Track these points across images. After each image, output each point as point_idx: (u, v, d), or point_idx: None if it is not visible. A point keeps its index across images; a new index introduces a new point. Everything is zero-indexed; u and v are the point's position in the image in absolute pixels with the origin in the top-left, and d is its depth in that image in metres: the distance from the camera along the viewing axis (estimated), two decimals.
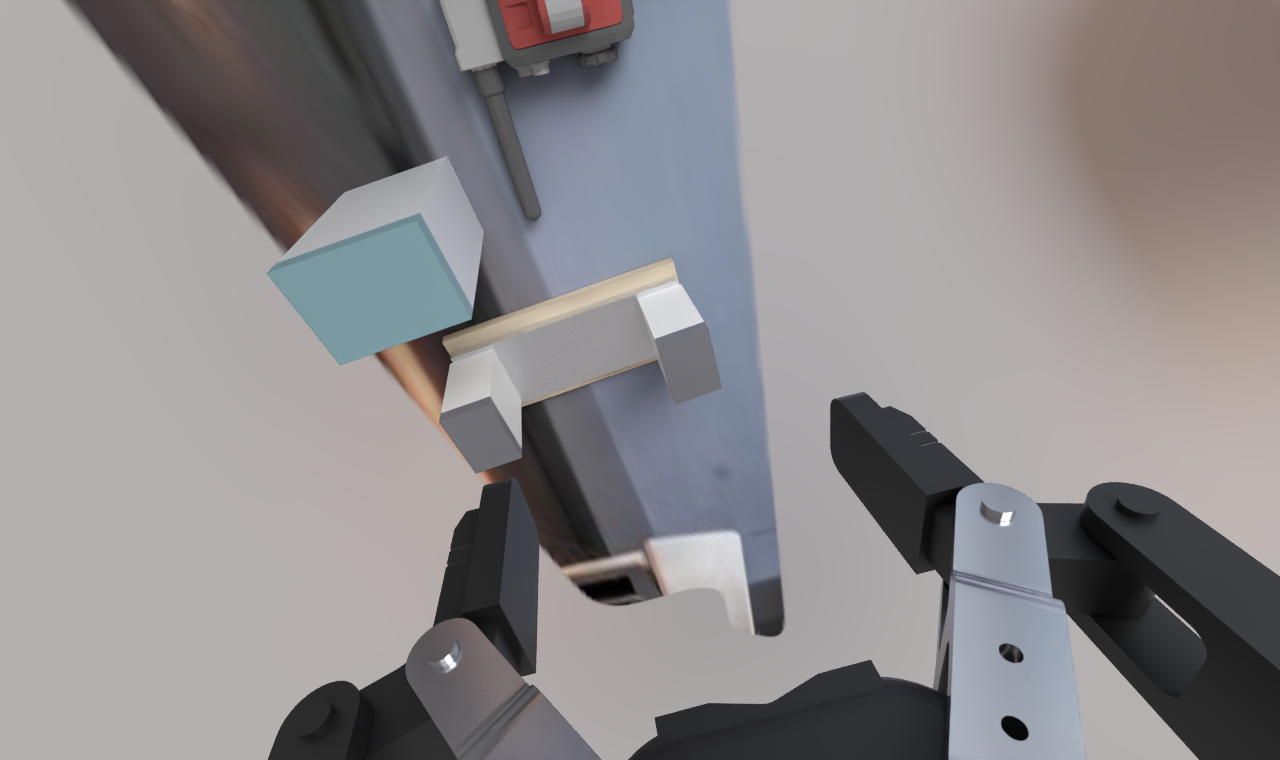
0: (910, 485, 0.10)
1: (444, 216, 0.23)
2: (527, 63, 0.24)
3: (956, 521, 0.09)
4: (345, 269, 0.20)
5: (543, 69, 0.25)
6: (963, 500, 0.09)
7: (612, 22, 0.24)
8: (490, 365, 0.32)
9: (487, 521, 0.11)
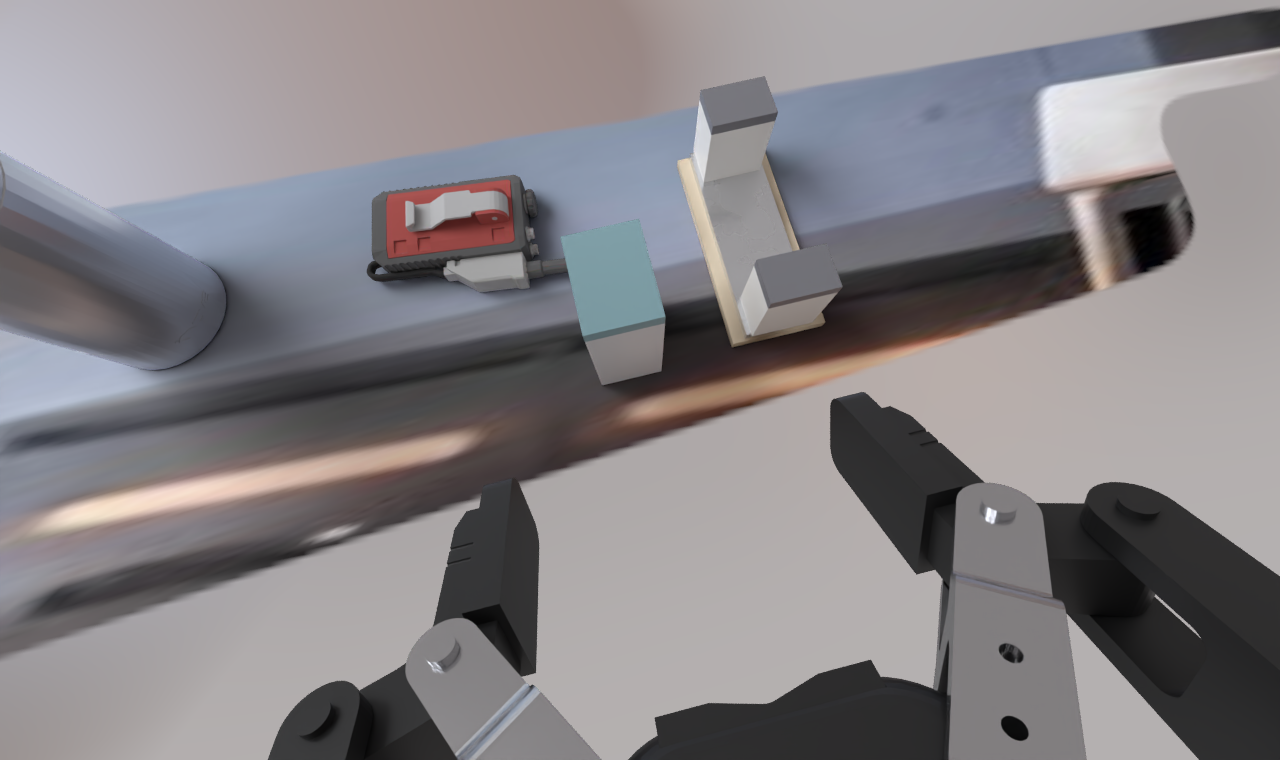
0: (910, 485, 0.10)
1: None
2: (522, 234, 0.38)
3: (956, 521, 0.09)
4: (587, 287, 0.28)
5: (529, 229, 0.39)
6: (963, 500, 0.09)
7: (509, 184, 0.39)
8: (745, 289, 0.36)
9: (487, 521, 0.11)
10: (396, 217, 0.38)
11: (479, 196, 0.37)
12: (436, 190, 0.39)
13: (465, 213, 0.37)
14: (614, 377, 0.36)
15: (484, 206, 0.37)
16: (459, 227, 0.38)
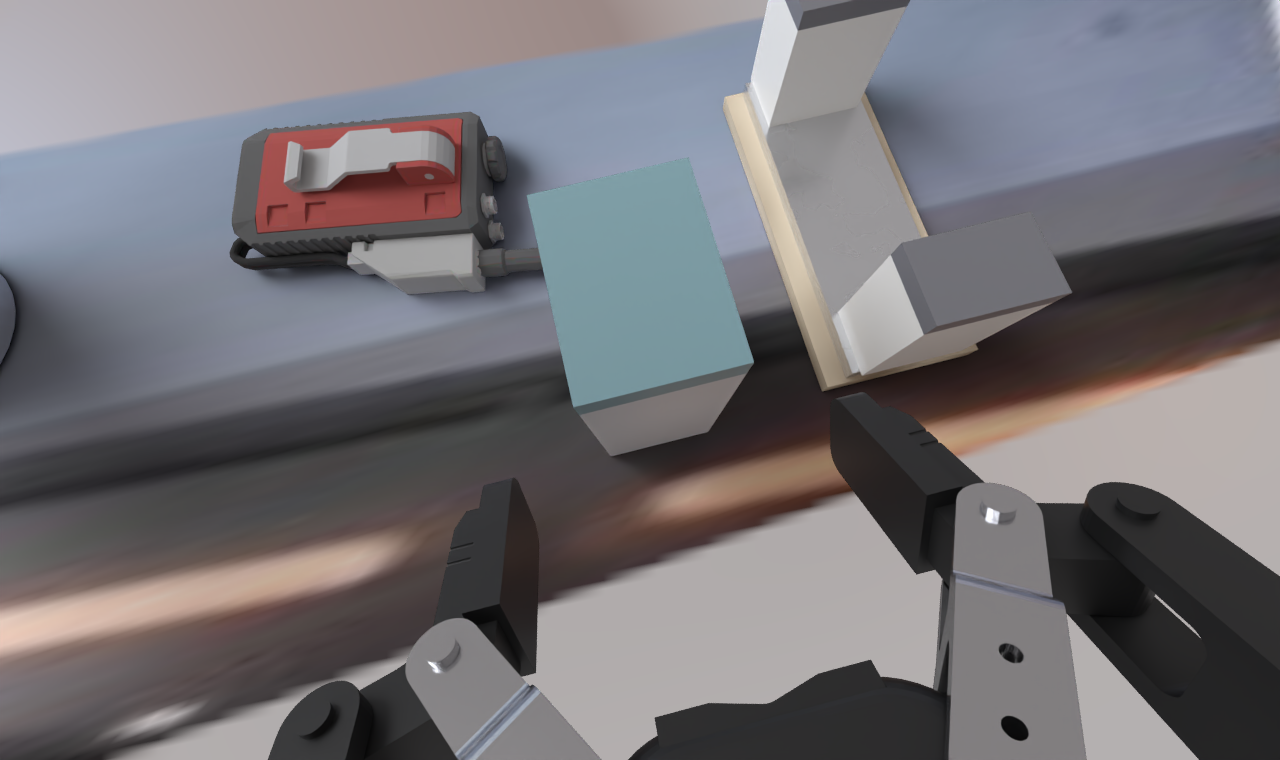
0: (910, 485, 0.10)
1: None
2: (474, 204, 0.23)
3: (956, 521, 0.09)
4: (582, 300, 0.13)
5: (488, 198, 0.24)
6: (963, 500, 0.09)
7: (459, 124, 0.24)
8: (855, 296, 0.21)
9: (487, 521, 0.11)
10: (277, 168, 0.24)
11: (405, 138, 0.23)
12: (345, 129, 0.25)
13: (379, 165, 0.22)
14: (632, 446, 0.22)
15: (411, 155, 0.23)
16: (374, 188, 0.24)
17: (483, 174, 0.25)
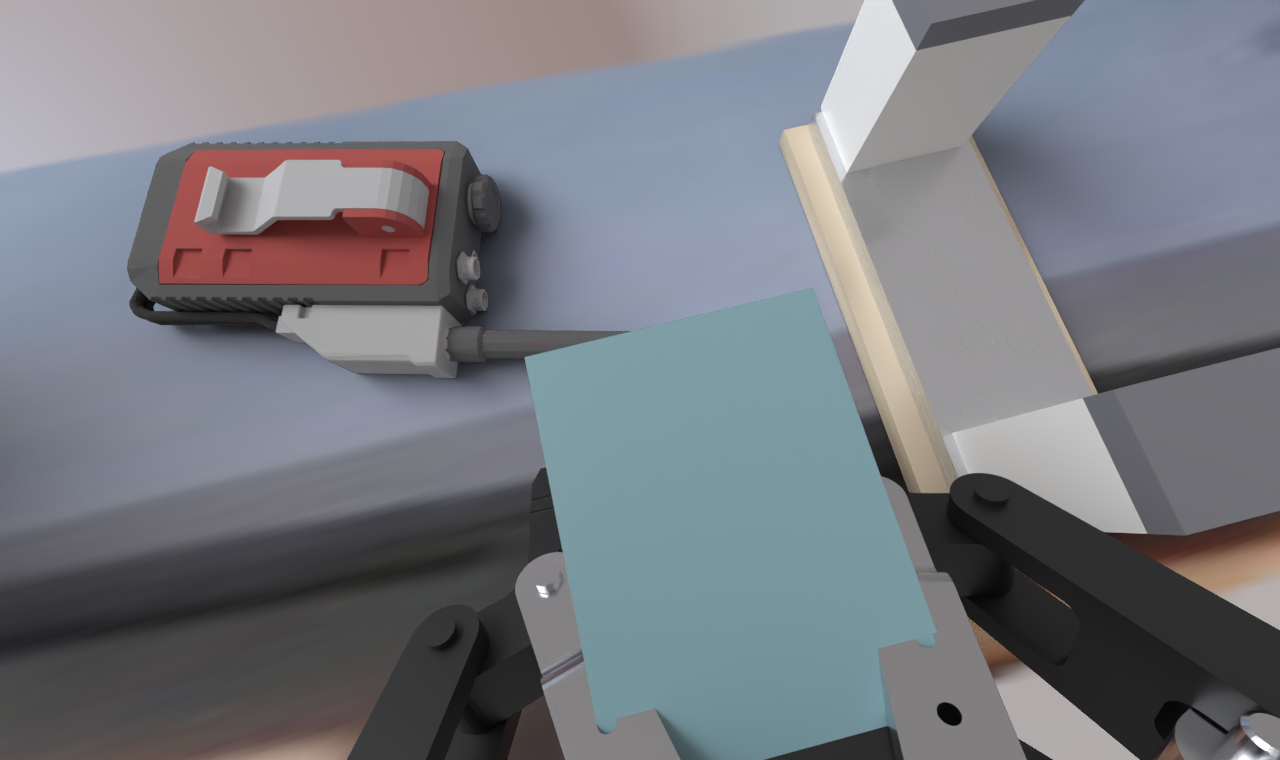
0: None
1: None
2: (446, 270, 0.17)
3: None
4: (629, 575, 0.07)
5: (467, 260, 0.18)
6: None
7: (439, 158, 0.18)
8: (990, 426, 0.15)
9: None
10: (195, 198, 0.18)
11: (359, 176, 0.17)
12: (292, 153, 0.19)
13: (320, 210, 0.17)
14: None
15: (364, 200, 0.17)
16: (317, 237, 0.18)
17: (466, 225, 0.19)
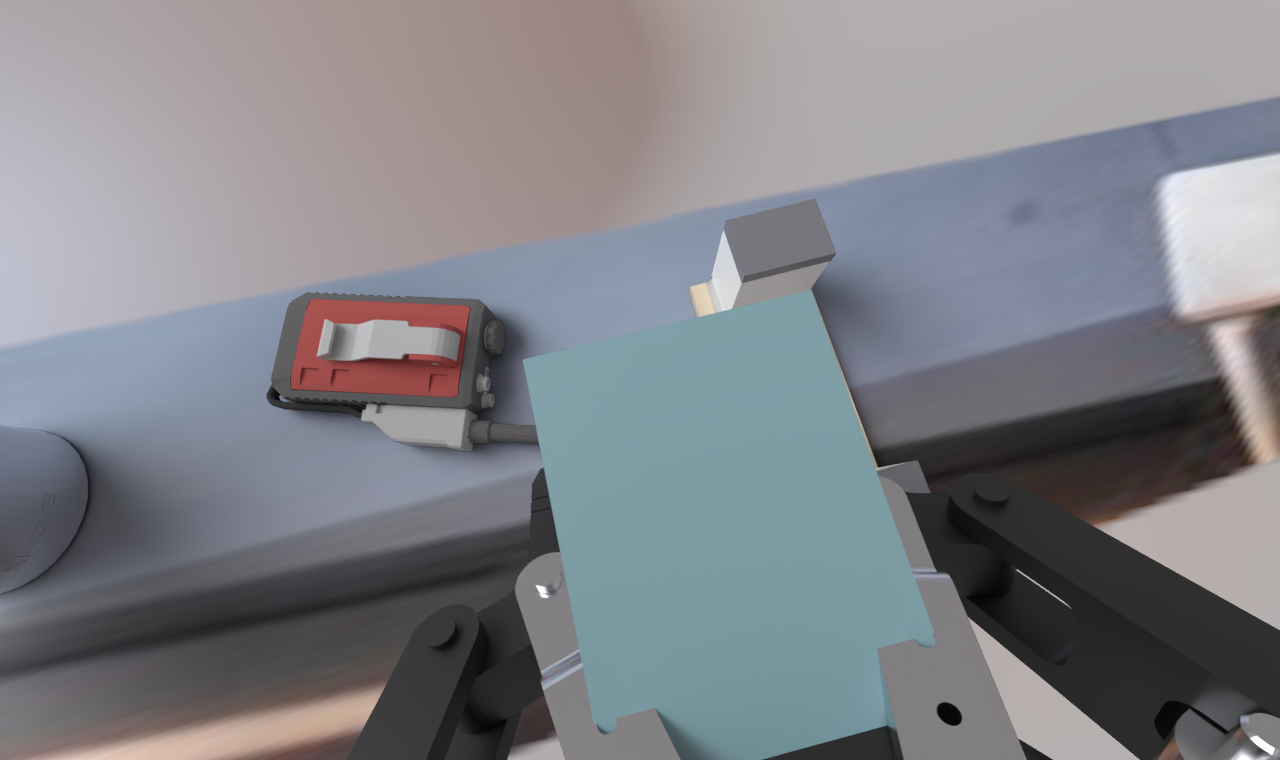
0: None
1: None
2: (469, 388, 0.28)
3: None
4: (627, 578, 0.07)
5: (482, 380, 0.29)
6: None
7: (467, 313, 0.29)
8: None
9: None
10: (313, 334, 0.29)
11: (419, 333, 0.28)
12: (373, 304, 0.30)
13: (395, 354, 0.27)
14: None
15: (422, 348, 0.27)
16: (389, 364, 0.29)
17: (482, 353, 0.30)
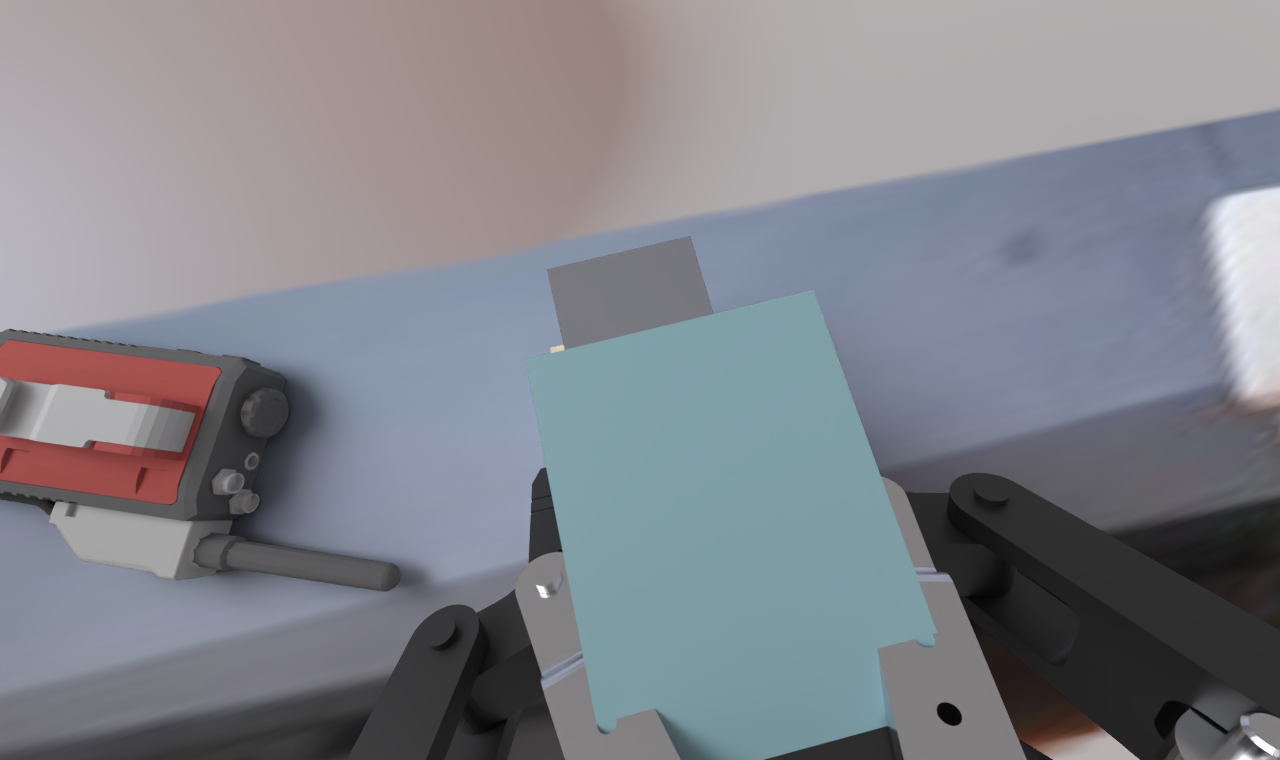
0: None
1: None
2: (194, 494, 0.19)
3: None
4: (630, 578, 0.07)
5: (224, 479, 0.20)
6: None
7: (213, 380, 0.20)
8: None
9: None
10: None
11: (117, 410, 0.19)
12: (88, 355, 0.21)
13: (75, 440, 0.18)
14: None
15: (115, 435, 0.18)
16: (87, 447, 0.20)
17: (237, 437, 0.21)
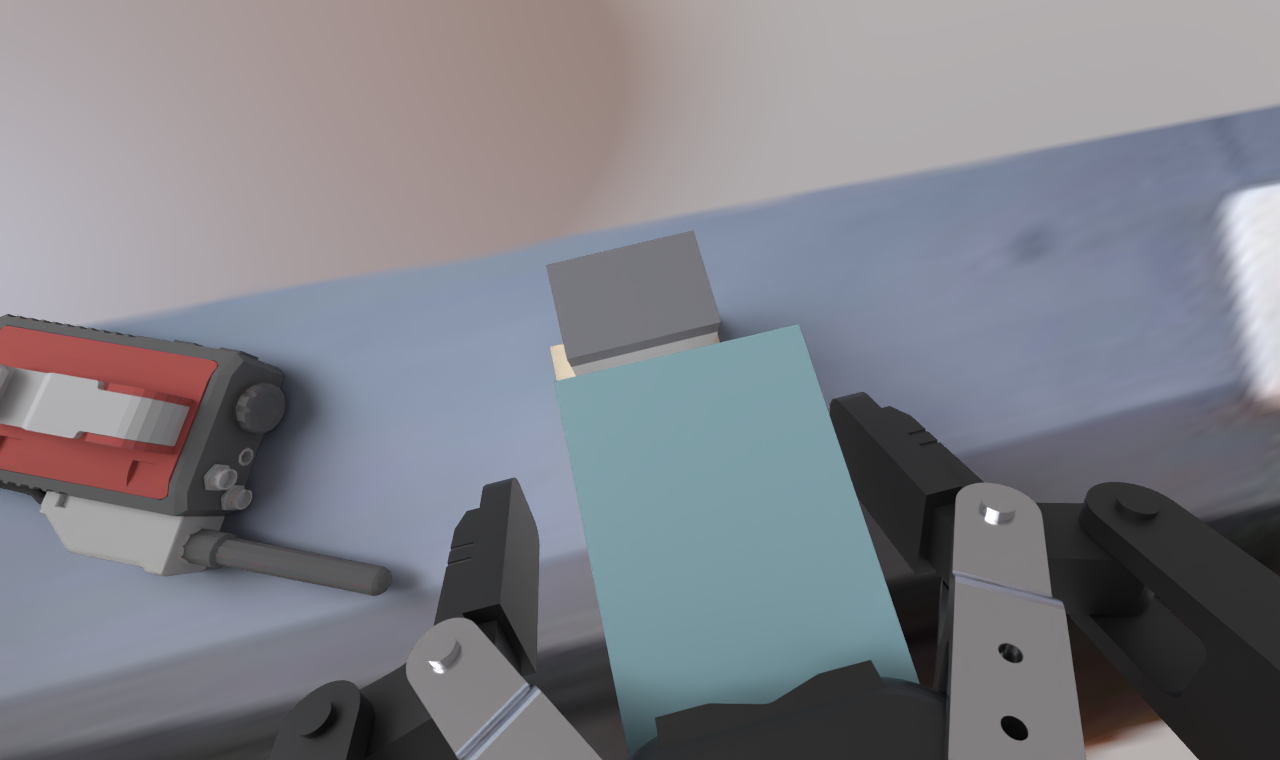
0: (909, 484, 0.10)
1: None
2: (185, 490, 0.19)
3: (955, 521, 0.09)
4: (642, 566, 0.08)
5: (216, 475, 0.20)
6: (962, 500, 0.09)
7: (209, 373, 0.20)
8: None
9: (487, 521, 0.11)
10: None
11: (109, 401, 0.18)
12: (85, 343, 0.20)
13: (67, 430, 0.18)
14: None
15: (107, 427, 0.18)
16: (80, 437, 0.19)
17: (232, 432, 0.20)
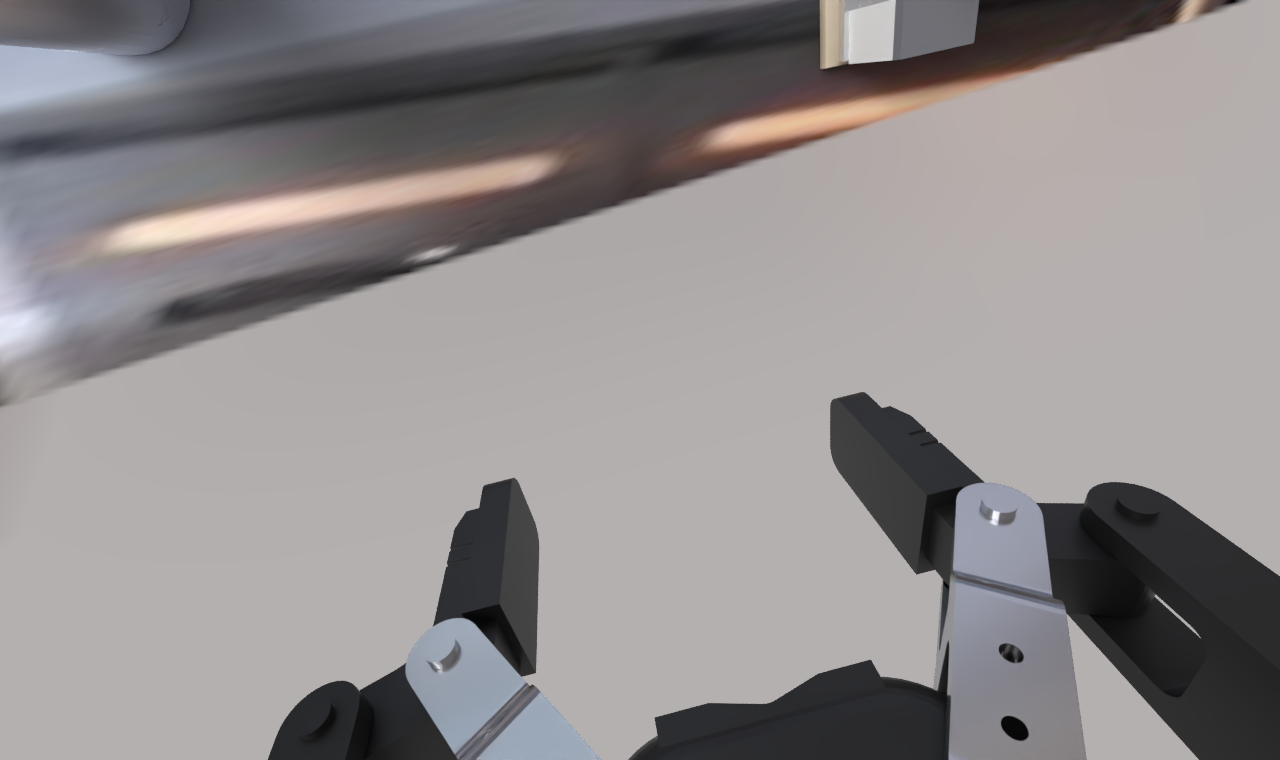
0: (910, 485, 0.10)
1: None
2: None
3: (956, 521, 0.09)
4: None
5: None
6: (963, 500, 0.09)
7: None
8: (864, 9, 0.32)
9: (487, 521, 0.11)
10: None
11: None
12: None
13: None
14: None
15: None
16: None
17: None
